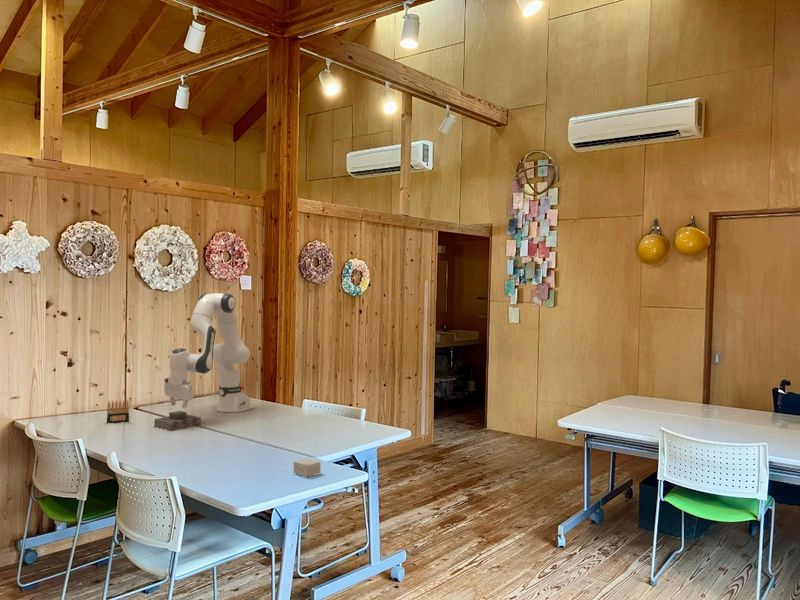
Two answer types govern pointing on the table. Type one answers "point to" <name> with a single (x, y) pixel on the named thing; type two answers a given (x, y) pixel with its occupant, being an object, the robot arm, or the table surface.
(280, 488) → the table surface
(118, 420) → the ammunition clip
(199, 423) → the socket board
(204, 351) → the robot arm
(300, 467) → the small box
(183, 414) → the plug
